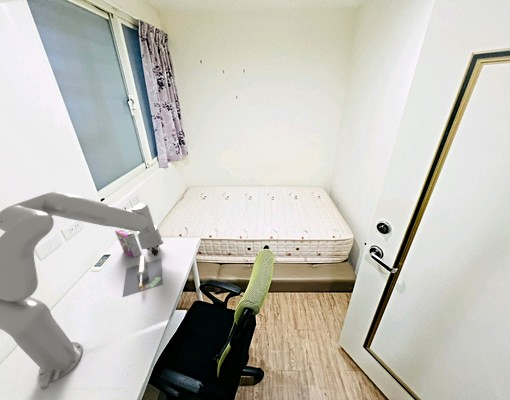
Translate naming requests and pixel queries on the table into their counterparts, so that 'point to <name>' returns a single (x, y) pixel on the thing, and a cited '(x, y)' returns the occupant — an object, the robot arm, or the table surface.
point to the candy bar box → (128, 242)
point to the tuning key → (142, 271)
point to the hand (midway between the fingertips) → (155, 254)
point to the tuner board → (154, 280)
